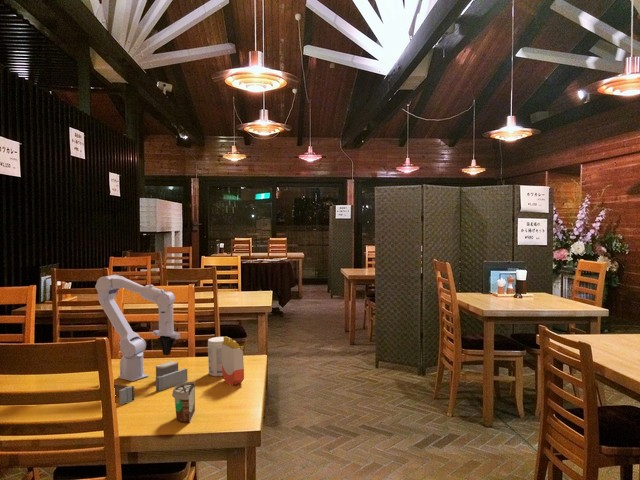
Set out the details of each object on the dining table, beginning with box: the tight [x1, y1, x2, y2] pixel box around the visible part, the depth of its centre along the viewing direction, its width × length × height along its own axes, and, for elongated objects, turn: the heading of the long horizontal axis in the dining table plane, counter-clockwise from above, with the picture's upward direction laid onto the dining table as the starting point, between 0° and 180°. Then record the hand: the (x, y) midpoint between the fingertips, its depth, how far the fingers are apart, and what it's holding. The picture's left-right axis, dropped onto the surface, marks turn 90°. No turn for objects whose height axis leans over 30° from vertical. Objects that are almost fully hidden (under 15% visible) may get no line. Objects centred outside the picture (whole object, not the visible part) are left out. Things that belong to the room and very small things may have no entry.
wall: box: [118, 367, 188, 406], centre depth 180 cm, size 2×30×5 cm, turn 148°
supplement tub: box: [207, 336, 231, 377], centre depth 202 cm, size 10×10×15 cm
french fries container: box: [222, 335, 245, 386], centre depth 190 cm, size 5×11×18 cm, turn 37°
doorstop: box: [155, 360, 179, 378], centre depth 196 cm, size 4×8×6 cm, turn 148°
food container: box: [171, 380, 196, 424], centre depth 155 cm, size 12×6×10 cm, turn 5°
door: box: [113, 382, 135, 402], centre depth 174 cm, size 1×11×5 cm, turn 62°
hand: (166, 354), depth 196 cm, fingers closed
